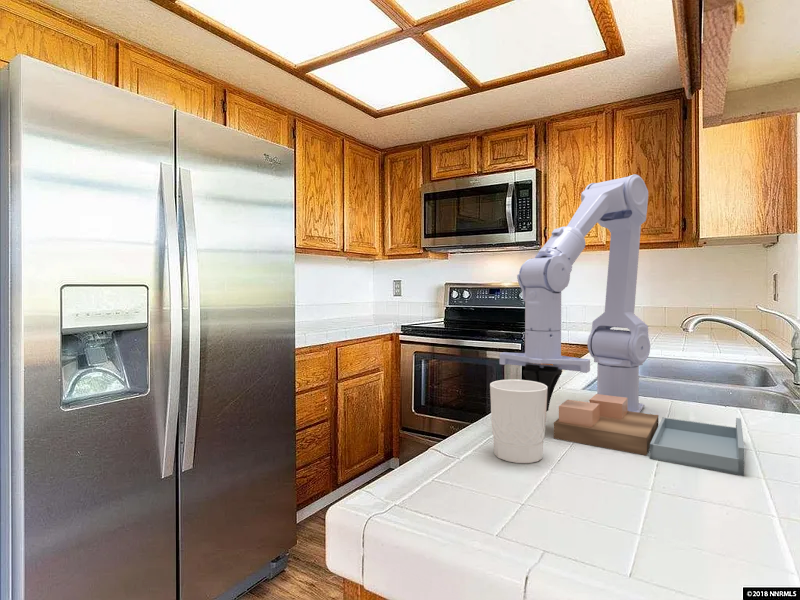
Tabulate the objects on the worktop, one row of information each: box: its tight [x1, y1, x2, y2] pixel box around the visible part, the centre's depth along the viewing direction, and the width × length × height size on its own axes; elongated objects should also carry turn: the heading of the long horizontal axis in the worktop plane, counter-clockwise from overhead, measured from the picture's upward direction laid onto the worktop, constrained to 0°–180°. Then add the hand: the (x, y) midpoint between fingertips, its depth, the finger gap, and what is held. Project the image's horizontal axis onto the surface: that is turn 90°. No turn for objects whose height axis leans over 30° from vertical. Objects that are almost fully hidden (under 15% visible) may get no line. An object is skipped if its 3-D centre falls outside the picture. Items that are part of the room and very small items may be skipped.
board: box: [553, 411, 659, 456], centre depth 75 cm, size 14×13×2 cm
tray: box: [649, 417, 745, 477], centre depth 68 cm, size 16×10×4 cm, turn 145°
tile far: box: [589, 393, 628, 419], centre depth 78 cm, size 5×5×2 cm
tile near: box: [558, 399, 600, 427], centre depth 74 cm, size 5×5×2 cm
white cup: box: [489, 379, 548, 464], centre depth 66 cm, size 8×8×10 cm
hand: (542, 411), depth 77 cm, fingers closed
